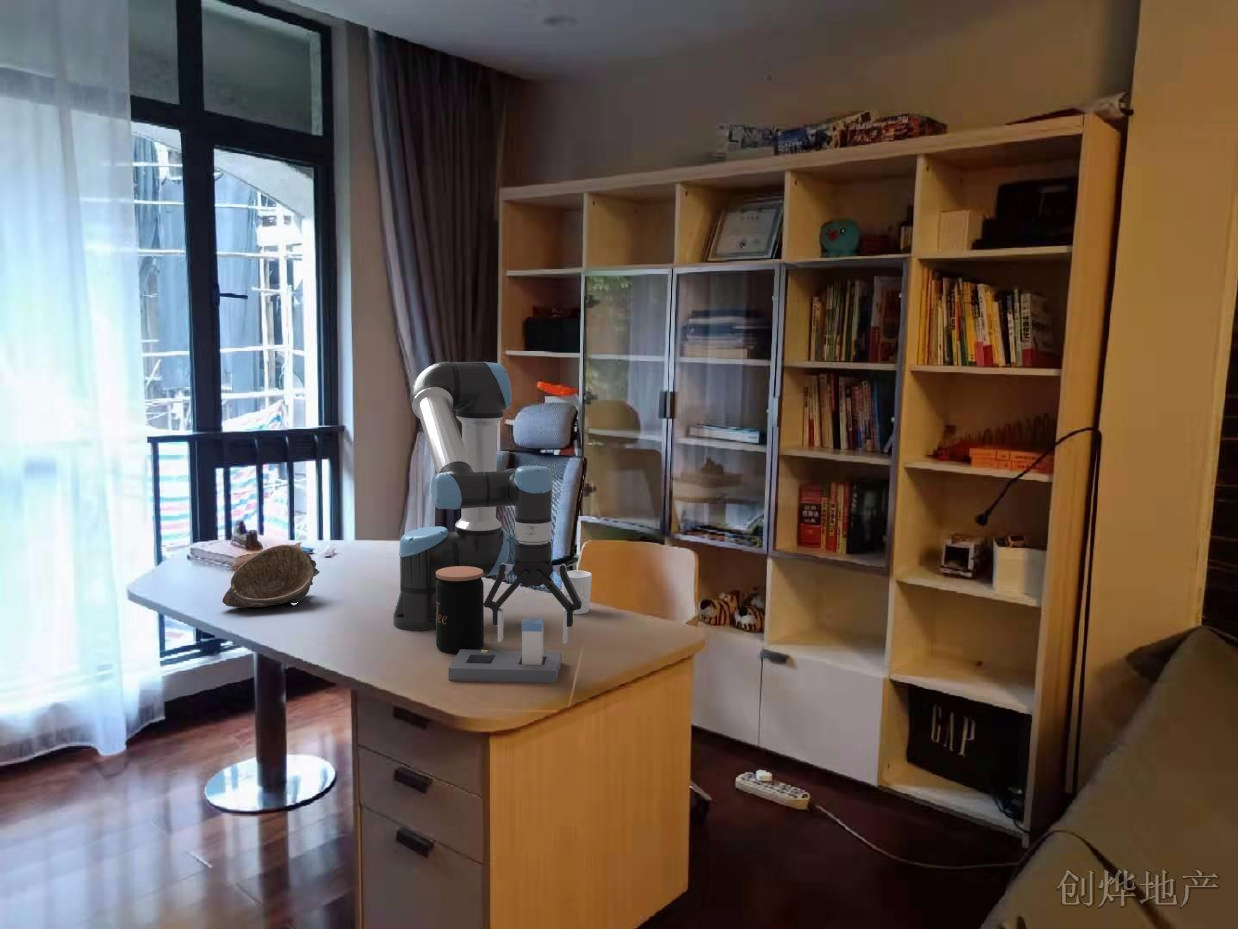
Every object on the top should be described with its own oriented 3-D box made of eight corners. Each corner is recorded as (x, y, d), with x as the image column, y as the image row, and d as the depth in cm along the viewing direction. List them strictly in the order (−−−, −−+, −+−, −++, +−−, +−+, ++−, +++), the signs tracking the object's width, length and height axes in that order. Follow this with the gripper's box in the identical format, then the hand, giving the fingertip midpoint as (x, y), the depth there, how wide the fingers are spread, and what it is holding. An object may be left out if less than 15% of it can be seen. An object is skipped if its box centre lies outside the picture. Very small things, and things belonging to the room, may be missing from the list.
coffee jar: (438, 641, 213) (438, 566, 211) (485, 641, 214) (484, 565, 212) (433, 656, 202) (432, 577, 200) (482, 656, 203) (482, 577, 201)
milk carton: (521, 675, 190) (521, 623, 189) (524, 668, 194) (524, 618, 193) (541, 675, 190) (541, 624, 189) (543, 668, 194) (543, 618, 193)
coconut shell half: (234, 621, 228) (329, 581, 240) (209, 570, 233) (304, 532, 245) (237, 643, 240) (328, 603, 252) (213, 593, 245) (304, 557, 257)
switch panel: (448, 682, 187) (448, 666, 186) (460, 662, 198) (460, 648, 198) (555, 685, 186) (556, 669, 186) (561, 665, 198) (561, 650, 197)
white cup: (587, 616, 235) (587, 578, 234) (557, 614, 237) (558, 576, 236) (594, 608, 243) (594, 571, 242) (565, 606, 245) (565, 569, 244)
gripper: (469, 543, 185) (470, 645, 188) (592, 546, 185) (591, 647, 187) (476, 536, 193) (476, 633, 195) (594, 538, 192) (593, 636, 195)
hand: (532, 641), depth 191 cm, fingers open, 13 cm apart
